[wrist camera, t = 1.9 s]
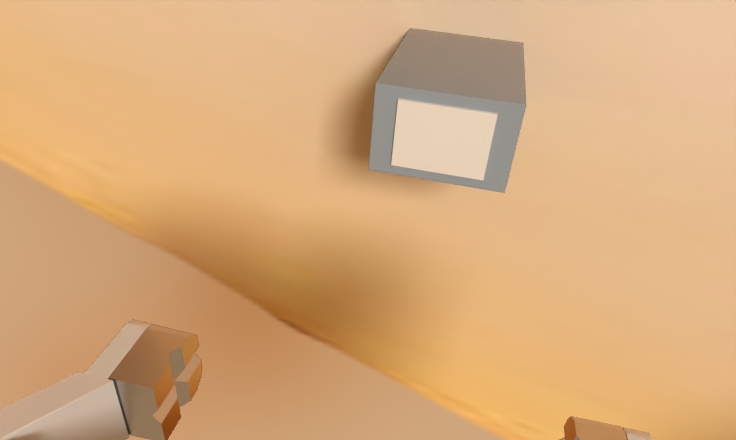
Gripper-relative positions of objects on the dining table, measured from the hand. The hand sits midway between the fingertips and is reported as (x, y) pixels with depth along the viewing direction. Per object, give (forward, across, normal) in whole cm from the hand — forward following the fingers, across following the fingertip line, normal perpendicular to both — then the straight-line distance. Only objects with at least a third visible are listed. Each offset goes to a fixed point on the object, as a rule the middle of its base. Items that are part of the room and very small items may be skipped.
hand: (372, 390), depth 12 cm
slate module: (+22, 0, 0) cm, 22 cm away
